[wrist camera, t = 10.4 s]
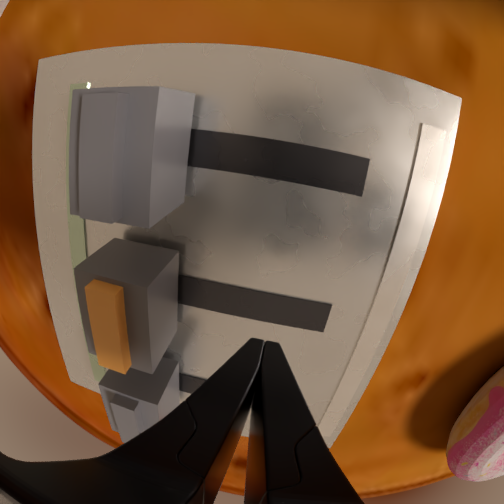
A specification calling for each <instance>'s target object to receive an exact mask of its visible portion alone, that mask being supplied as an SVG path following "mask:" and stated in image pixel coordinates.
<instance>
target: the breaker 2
mask: <svg viewBox="0 0 504 504" xmlns="http://www.w3.org/2000/svg"><path fill="white" fill-rule="evenodd" d="M98 385H99V389H100V392H101V396H102V399H103V402H104V406H105V409H106V412H107V415H108V418H109V421H110V424H111V427H112V430H114V431H116V432H119V434H120V437H121V440H122V442H124V443H126V442H127V441H129V440H131V439H132V438H134V437H135V436H137V435H139V434H140V433H142V432H143V431H145V430H147V429H148V428H150V427H151V426H153V425H154V424H155V423H157V422H158V421H160V420H161V419H163V418H164V417H165V416H166V415H168V414H169V413H170V412H171V411H173V410H174V409H175V408H176V407H177V406H178V405H179V404H180V399H179V361H176V360H172V359H169V358H165V357H162V358H161V360H160V362H159V364H158V366H157V367H156V369H155V371H154V373H153V374H149V373H146V372H143V371H140V370H137V369H134V368H131V367H130V368H129V369H128V371H127V372H126V374H122V373H119V372H117V371H114V370H111V369H108V371H107V372H106V373H105V375H104V376H103V378H102V379H101V381H100V382H99V384H98Z"/></svg>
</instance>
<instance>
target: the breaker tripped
mask: <svg viewBox="0 0 504 504" xmlns="http://www.w3.org/2000/svg"><path fill="white" fill-rule="evenodd" d="M178 271H179V251H178V250H173V249H168V248H163V247H158V246H153V245H148V244H143V243H138V242H133V241H128V240H124V239H119V238H113V239H112V240H111V241H109V242H108V243H107V244H105V245H104V246H102V247H101V248H100V249H98V250H97V251H96V252H94V253H93V254H92V255H90V256H89V257H88V258H86V259H85V260H84V261H82V262H81V263H80V264H78V265H77V266H76V267H75V268H74V276H75V283H76V290H77V296H78V302H79V308H80V313H81V319H82V324H83V329H84V333H85V338H86V343H87V347H88V351H89V353H91V354H94V355H97V359H98V363H99V365H100V366H103V367H106V368H108V369H111V370H114V371H117V372H119V373H122V374H126V372H127V371H128V369H129V368H130V367H131V368H134V369H137V370H140V371H143V372H146V373H149V374H153V373H154V371H155V369H156V367H157V366H158V364H159V362H160V360H161V358H162V357H163V355H164V353H165V351H166V349H167V348H168V346H169V344H170V342H171V341H172V339H173V337H174V335H175V333H176V332H177V308H178Z"/></svg>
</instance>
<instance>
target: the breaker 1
mask: <svg viewBox="0 0 504 504" xmlns="http://www.w3.org/2000/svg"><path fill="white" fill-rule="evenodd" d="M194 101H195V93H190V92H185V91H181V90H176V89H171V88H165V87H160V86H128V87H102V88H86V89H74V90H73V93H72V104H71V117H70V135H69V202H70V214H71V215H77V216H80V218H82V219H88V220H93V221H99V222H104V223H109V224H113V223H120V224H126V225H131V226H137V227H142V228H148V229H150V228H151V227H152V226H153V225H155V224H156V223H157V222H159V221H160V220H161V219H162V218H164V217H165V216H166V215H168V214H169V213H170V212H172V211H173V210H174V209H176V208H177V207H178V206H180V205H181V204H182V203H184V198H185V186H186V174H187V163H188V153H189V143H190V134H191V125H192V117H193V109H194Z"/></svg>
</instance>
